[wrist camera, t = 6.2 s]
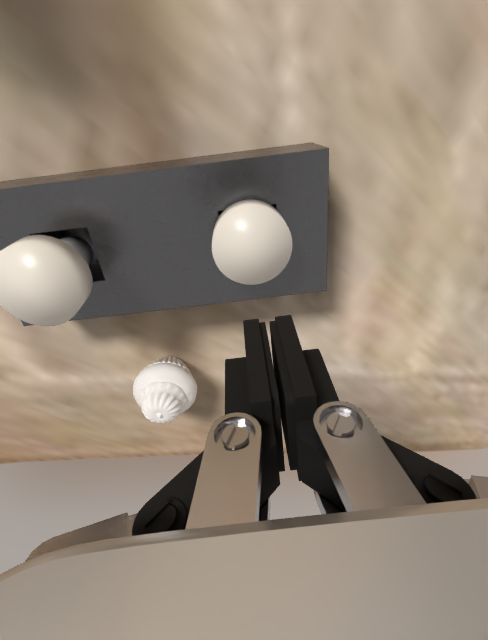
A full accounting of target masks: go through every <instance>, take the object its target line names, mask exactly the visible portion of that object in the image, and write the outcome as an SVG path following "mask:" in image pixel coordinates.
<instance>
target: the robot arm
mask: <svg viewBox="0 0 488 640" xmlns="http://www.w3.org/2000/svg"><path fill="white" fill-rule="evenodd" d="M243 324H244V337H245V349H246V357H243V358H234V359H226V360H225V415H224V416H222V417H220V418H219V419H217V420H216V421H215V422H214V423H213V425H212V426H211V428H210V430H209V432H208V436H207V440H206V445H205V449H204V451H203V452H202V453H201V454H200V455H198V456H197V457H196V458H195V459H194V460H193V461H192V462H191V463H190V464H189V465H187V466H186V467H185V468H184V469H183V470H182V471H181V472H180V473H179V474H178V475H177V476H175V477H174V478H173V479H172V480H171V481H170V482H169V483H168V484H167V485H165V486H164V487H163V488H162V489H161V490H160V491H159V492H158V493H157V494H156V495H155V496H153V497H152V498H151V499H150V500H149V501H148V502H147V503H146V504H145V505H144V506H143V507H142V508H141V510H140V511H139V512H138V513H137V514H134V515H131V516H129V515H128V514H127V513H124V514H121V515H118V516H115V517H112V518H110V519H106V520H104V521H101V522H97V523H94V524H92V525H89V526H86V527H83V528H80V529H77V530H74V531H71V532H68V533H65V534H62V535H59V536H56V537H53V538H51V539H49V540H47V541H45V542H43V543H42V544H41V545H39V546H38V547H37V548H36V549H35V550H34V551H32V553H31V554H30V555H29V557H28V558H27V560H26V561H25V562H24V563H22V564H20V565H17V566H15V567H14V568H12V569H10V570H8V571H6V572H4V573H2V574H0V640H488V477H482V476H471V478H470V480H469V479H462V477H460V476H459V475H457V474H456V473H454V472H453V471H451V470H449V469H447V468H445V467H443V466H441V465H439V464H437V463H435V462H433V461H431V460H429V459H427V458H425V457H423V456H421V455H419V454H417V453H415V452H413V451H411V450H409V449H407V448H405V447H403V446H401V445H399V444H397V443H395V442H393V441H391V440H389V439H387V438H385V437H383V436H381V435H380V434H379V433H378V431H377V430H376V428H375V427H374V425H373V424H372V422H371V421H370V420H369V418H368V417H367V415H366V414H365V413H364V412H363V411H362V410H361V409H360V408H358V407H357V406H355V405H353V404H350V403H347V402H341V401H339V399H338V396H337V394H336V391H335V389H334V386H333V384H332V381H331V379H330V376H329V373H328V371H327V368H326V366H325V363H324V361H323V358H322V356H321V353H320V351H319V349H311V350H303V351H302V348H301V345H300V342H299V339H298V336H297V332H296V329H295V326H294V323H293V320H292V317H291V315H286V316H278V317H275V321H270V332H271V344H272V355H273V363H272V358H271V352H270V347H269V341H268V336H267V330H266V325H265V322H262V323H259V319H253V320H244V321H243ZM273 367H274V368H273ZM281 421H282V427H283V432H284V438H285V444H286V449H287V455H288V460H289V465H290V470H297V472H298V478H299V481H302V482H303V483H305V484H306V485H308V486H309V487H311V488H312V489H313V490H314V494H315V498H316V501H317V504H318V506H319V508H320V511H321V514H322V515H314V516H304V517H295V518H286V519H276V520H270V495H271V494H272V493H273V492H274V491H275V490H276V488H277V487H278V486H279V485H280V478H279V472H280V471H285V466H284V453H283V440H282V428H281Z"/></svg>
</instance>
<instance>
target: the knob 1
mask: <svg viewBox="0 0 488 640" xmlns="http://www.w3.org/2000/svg"><path fill="white" fill-rule="evenodd" d="M92 261H93V250H92V248H91V246H90V245H89V244H88V243H87V242H86V241H85V240H84V239H82V238H81V237H78V236H74V235H68V236H64V237H62V238H61V239H57V238H54V237H51V236H46V235H31V236H26V237H23V238H21V239H19V240H18V241H16V242H14V243H13V244H11V245H9V246H8V247H6V248H4V249H3V250H1V251H0V305H1V307H2V308H4V309H5V310H6V311H7V312H8V313H10V314H11V315H13V316H14V317H16V318H18V319H20V320H22V321H24V322H27V323H30V324H34V325H39V326H55V325H59V324H63V323H65V322H67V321H68V320H70V319H71V318H72V317H73V316H75V314H76V313H77V312H78V310H79V309H80V308H81V306H82V305H83V304H84V302H85V301H86V300H87V298H88V297H89V295H90V293H91V290H92V285H93V279H92V274H91V271H90V268H89V265H90V264H91V263H92Z"/></svg>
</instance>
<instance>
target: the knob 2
mask: <svg viewBox="0 0 488 640" xmlns="http://www.w3.org/2000/svg"><path fill="white" fill-rule="evenodd" d="M291 253H292V236H291V233H290V230H289V228H288V226H287V224H286V222H285V221H284V219H283V217H282V215H281V214H280V213H279V212H278V211H277V210H276V209H275V208H274V207H273V206H271V205H270V204H268V203H266V202H263V201H259V200H252V199H251V200H243V201H239V202H236V203H234V204H232V205H231V206H229V207H228V208H226V209H225V210H224V211H223V212H222V213H221V215H220V216H219V218H218V219H217V221H216V223H215V226H214V230H213V237H212V254H213V258H214V261H215V263H216V265H217V267H218V268H219V270H220V271H221V272H222V273H223V274H224V275H225V276H226V277H228V278H229V279H231V280H233V281H235V282H238V283H241V284H246V285H256V284H261V283H265V282H267V281H269V280H271V279H273V278H275V277H276V276H277V275H279V274H280V273H281V272H282V271H283V269H284V268H285V267H286V265H287V263H288V261H289V259H290V256H291Z"/></svg>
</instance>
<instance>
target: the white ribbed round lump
mask: <svg viewBox="0 0 488 640" xmlns="http://www.w3.org/2000/svg"><path fill="white" fill-rule="evenodd" d="M133 395H134V398H135V400H136V402H137V403H138V405H139V406H140V407H141V408H142V412H143V414H144V416H145V417H146V418H147V419H149V420H150V421H151V422H156V423H157V424H159V423H163V424H165V423H166V422H169V423H170V422H171V421H172V420H174V419H176V418H177V415H179V414H180V413H182V412H184V411H186V410H187V409H188V408H189V407H191V405H192V404H193V403H194V401H195V399H196V395H197V384H196V381H195V380H194V377H193V376H192V373H191V372H190V370H189V369H188V368H187V366H186V365H185V364H184V363H183V361H181V360H180V359H178V358H176V357H172V356H165V357H162V358H159V359H158V360H156V361H154V362H152V363H151V364H149V365H148V366H146V367H145V369H143V370H142V371H141V372H140V373H139V374H138V376H137V377H136V379H135V381H134V385H133Z"/></svg>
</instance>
